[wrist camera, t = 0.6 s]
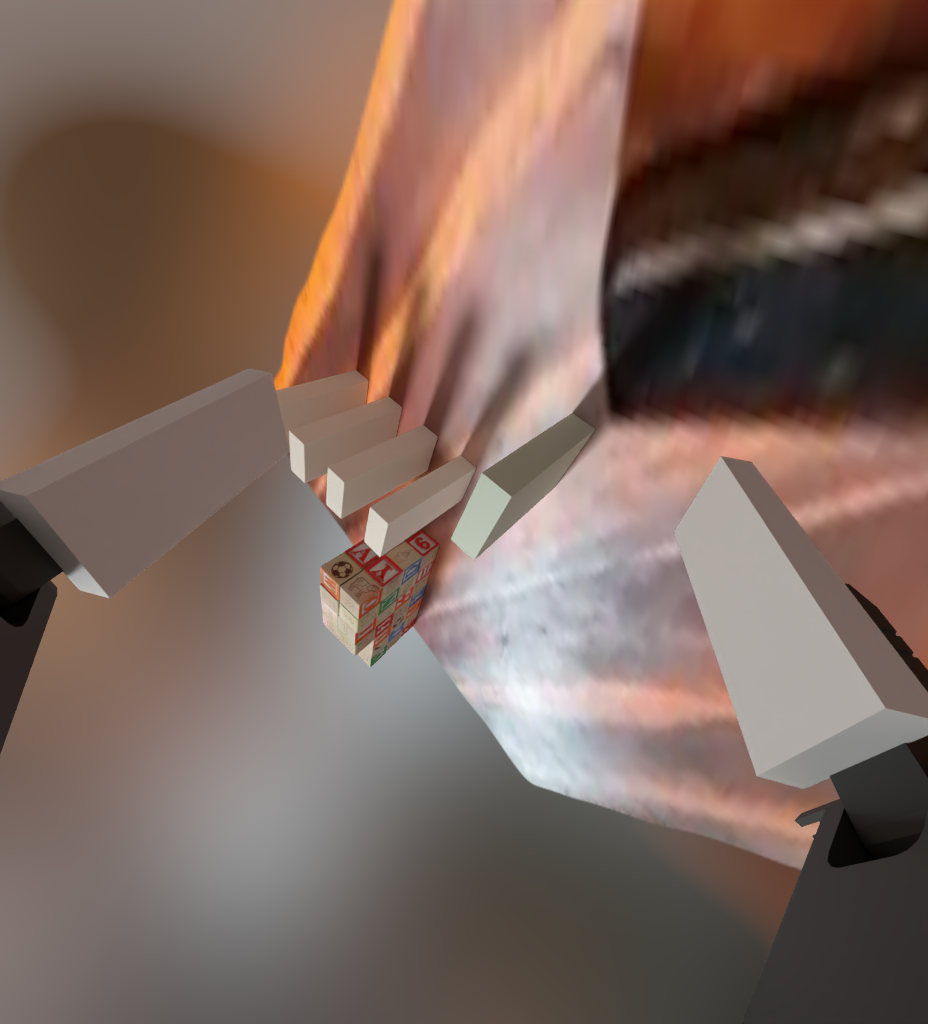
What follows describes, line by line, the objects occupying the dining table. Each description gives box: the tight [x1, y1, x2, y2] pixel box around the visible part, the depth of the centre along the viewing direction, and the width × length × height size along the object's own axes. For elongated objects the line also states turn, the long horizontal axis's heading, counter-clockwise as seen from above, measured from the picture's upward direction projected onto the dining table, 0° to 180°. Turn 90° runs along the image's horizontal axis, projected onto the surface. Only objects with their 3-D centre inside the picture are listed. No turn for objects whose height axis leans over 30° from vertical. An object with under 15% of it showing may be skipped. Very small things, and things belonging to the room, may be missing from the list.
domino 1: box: [276, 370, 369, 444], centre depth 36 cm, size 2×5×11 cm, turn 159°
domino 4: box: [364, 455, 476, 557], centre depth 33 cm, size 2×5×11 cm, turn 159°
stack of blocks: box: [320, 529, 439, 667], centre depth 48 cm, size 21×6×12 cm, turn 164°
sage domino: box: [451, 413, 595, 560], centre depth 24 cm, size 2×6×11 cm, turn 159°
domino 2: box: [289, 397, 402, 483], centre depth 35 cm, size 2×5×11 cm, turn 159°
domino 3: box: [326, 425, 438, 519], centre depth 34 cm, size 2×5×11 cm, turn 159°
